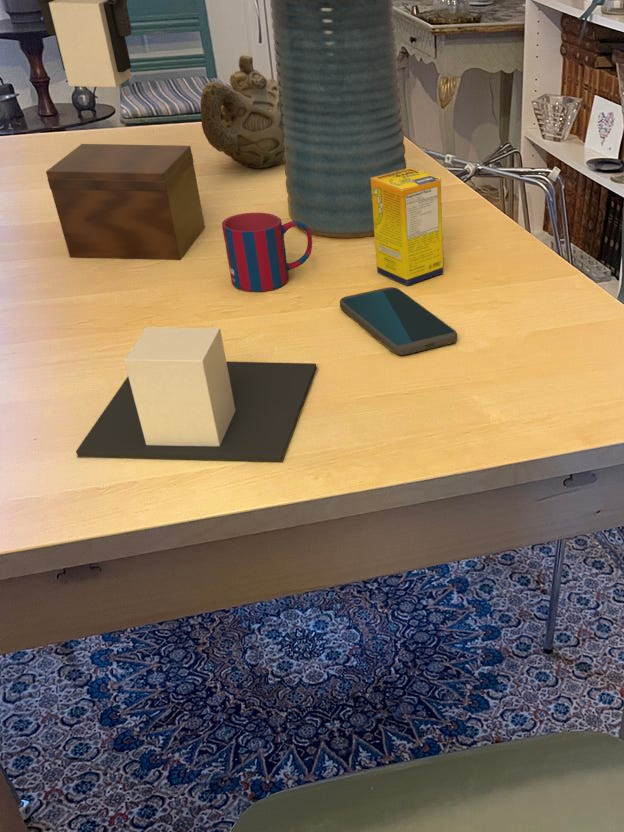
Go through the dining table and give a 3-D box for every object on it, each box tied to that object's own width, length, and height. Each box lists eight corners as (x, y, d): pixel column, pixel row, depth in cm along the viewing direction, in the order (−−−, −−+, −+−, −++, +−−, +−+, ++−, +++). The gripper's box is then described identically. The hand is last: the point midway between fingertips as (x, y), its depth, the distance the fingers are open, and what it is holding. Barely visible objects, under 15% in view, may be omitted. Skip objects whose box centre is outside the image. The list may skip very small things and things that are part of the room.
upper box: (146, 445, 82) (123, 359, 77) (166, 409, 87) (146, 326, 82) (219, 446, 82) (202, 360, 77) (235, 410, 87) (220, 327, 82)
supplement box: (412, 260, 117) (408, 166, 110) (444, 274, 114) (442, 177, 106) (375, 273, 114) (368, 176, 107) (406, 287, 111) (402, 188, 103)
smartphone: (396, 293, 109) (396, 285, 108) (461, 341, 99) (461, 333, 99) (336, 306, 106) (336, 298, 105) (397, 357, 96) (397, 349, 96)
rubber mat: (77, 457, 82) (75, 451, 81) (140, 364, 95) (139, 359, 95) (282, 462, 81) (281, 456, 81) (316, 368, 95) (316, 363, 94)
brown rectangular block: (69, 257, 117) (44, 171, 110) (102, 224, 126) (81, 143, 119) (180, 259, 117) (163, 173, 110) (205, 227, 126) (190, 145, 119)
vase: (284, 205, 133) (248, -74, 111) (397, 197, 136) (384, -77, 115) (296, 245, 121) (259, -59, 100) (420, 235, 124) (410, -62, 103)
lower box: (68, 86, 107) (48, 2, 102) (85, 76, 111) (66, -5, 106) (116, 87, 107) (98, 3, 102) (131, 77, 111) (115, -4, 106)
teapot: (261, 145, 155) (246, 39, 145) (322, 152, 152) (312, 44, 142) (186, 181, 141) (164, 66, 131) (253, 190, 138) (235, 73, 127)
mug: (230, 273, 114) (220, 214, 109) (313, 266, 115) (307, 208, 111) (232, 294, 109) (222, 233, 104) (319, 287, 110) (312, 227, 106)
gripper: (141, -199, 95) (186, 64, 111) (-38, -203, 96) (31, 60, 111) (117, -199, 90) (167, 77, 105) (-73, -203, 90) (5, 73, 106)
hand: (97, 68), depth 108 cm, fingers closed on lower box, 5 cm apart
